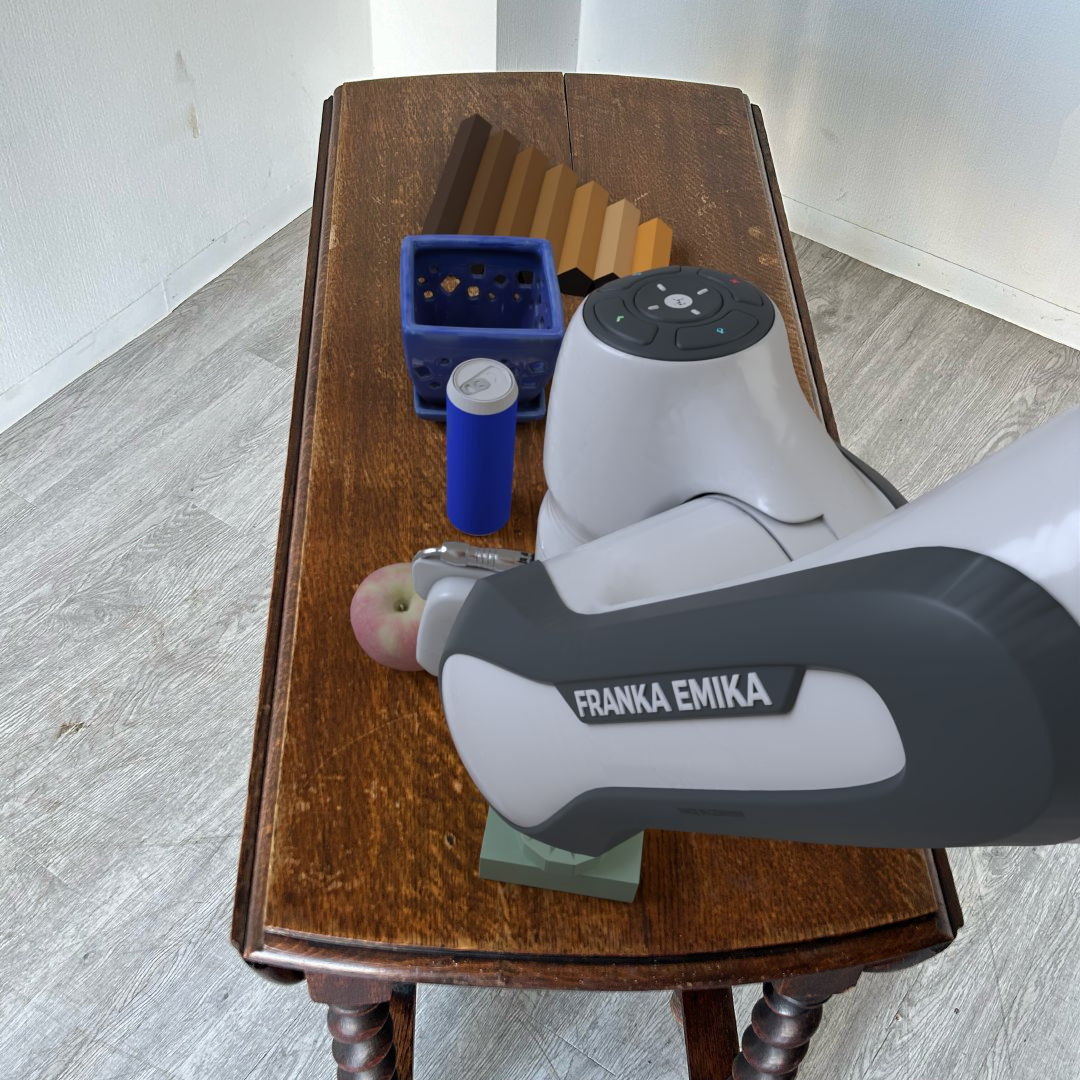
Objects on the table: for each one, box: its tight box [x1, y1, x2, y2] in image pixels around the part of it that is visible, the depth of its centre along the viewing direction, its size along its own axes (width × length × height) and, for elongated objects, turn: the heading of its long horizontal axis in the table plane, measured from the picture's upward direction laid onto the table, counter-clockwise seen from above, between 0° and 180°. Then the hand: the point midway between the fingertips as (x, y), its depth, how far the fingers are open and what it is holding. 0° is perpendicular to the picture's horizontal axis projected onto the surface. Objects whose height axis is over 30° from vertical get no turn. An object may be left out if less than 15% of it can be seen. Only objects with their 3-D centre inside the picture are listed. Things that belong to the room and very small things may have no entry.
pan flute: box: [419, 112, 674, 298], centre depth 117 cm, size 25×3×25 cm
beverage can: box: [446, 358, 518, 537], centre depth 85 cm, size 5×5×15 cm
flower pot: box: [399, 234, 566, 423], centre depth 96 cm, size 13×13×12 cm
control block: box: [478, 805, 645, 904], centre depth 71 cm, size 10×6×5 cm, turn 82°
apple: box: [349, 562, 426, 672], centre depth 79 cm, size 8×8×8 cm
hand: (599, 723), depth 63 cm, fingers open, 8 cm apart
